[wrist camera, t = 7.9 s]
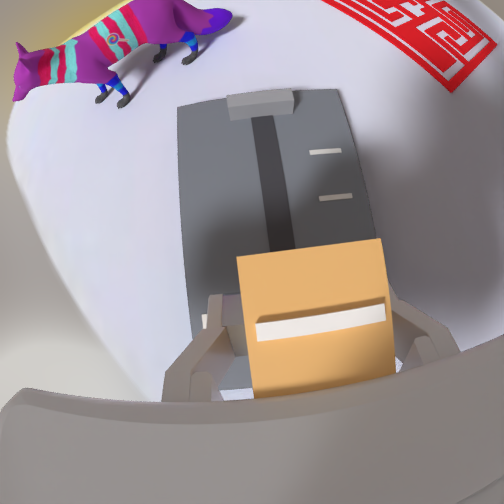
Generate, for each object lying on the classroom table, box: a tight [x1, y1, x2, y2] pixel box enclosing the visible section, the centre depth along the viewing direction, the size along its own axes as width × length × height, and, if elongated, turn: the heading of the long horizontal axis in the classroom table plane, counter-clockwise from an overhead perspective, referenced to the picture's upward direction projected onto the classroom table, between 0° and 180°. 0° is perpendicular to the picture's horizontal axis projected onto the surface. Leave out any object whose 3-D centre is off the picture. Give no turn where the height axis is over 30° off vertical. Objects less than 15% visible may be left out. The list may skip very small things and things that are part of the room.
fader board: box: [177, 88, 376, 390], centre depth 16 cm, size 18×11×3 cm, turn 7°
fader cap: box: [237, 238, 396, 399], centre depth 11 cm, size 4×4×9 cm
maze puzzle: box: [322, 0, 498, 93], centre depth 21 cm, size 20×20×1 cm
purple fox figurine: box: [13, 0, 232, 109], centre depth 15 cm, size 4×18×10 cm, turn 128°
